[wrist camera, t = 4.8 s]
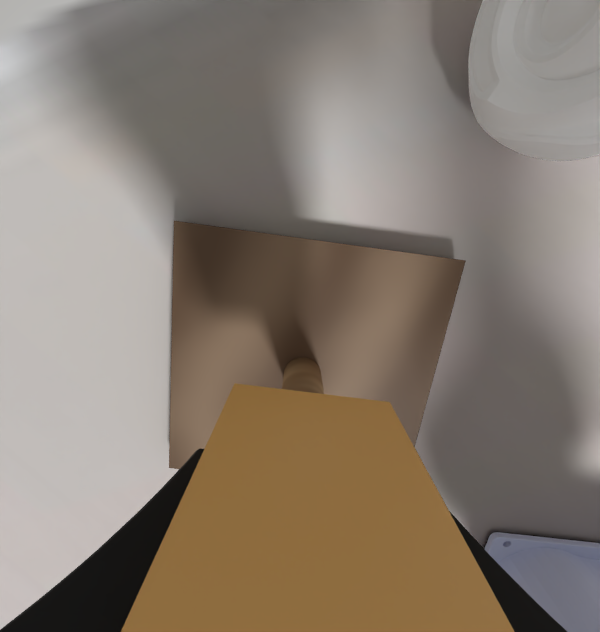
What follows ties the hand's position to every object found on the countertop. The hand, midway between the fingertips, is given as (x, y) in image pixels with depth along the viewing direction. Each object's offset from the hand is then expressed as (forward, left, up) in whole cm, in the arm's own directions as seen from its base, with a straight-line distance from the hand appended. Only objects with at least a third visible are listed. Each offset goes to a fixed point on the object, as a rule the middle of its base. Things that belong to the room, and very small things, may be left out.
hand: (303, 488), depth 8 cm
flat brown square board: (0, 0, -8) cm, 8 cm away
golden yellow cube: (0, 0, -1) cm, 1 cm away
